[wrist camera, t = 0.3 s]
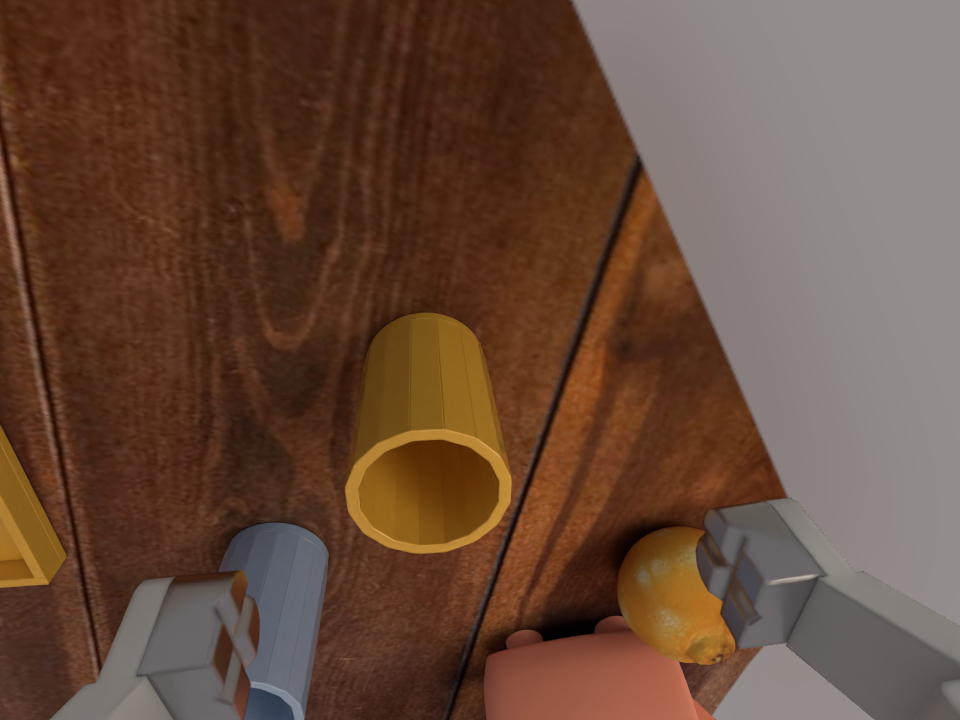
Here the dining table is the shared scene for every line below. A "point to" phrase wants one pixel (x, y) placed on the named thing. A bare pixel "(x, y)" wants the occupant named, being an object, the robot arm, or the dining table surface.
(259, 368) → the dining table surface
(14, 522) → the mustard tray
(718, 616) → the fruit
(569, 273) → the dining table surface
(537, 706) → the teapot
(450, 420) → the mustard cup
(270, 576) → the blue cup
